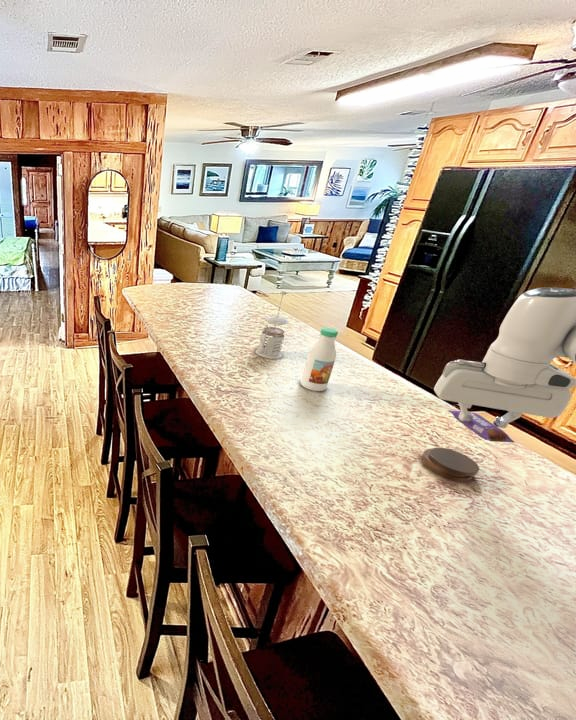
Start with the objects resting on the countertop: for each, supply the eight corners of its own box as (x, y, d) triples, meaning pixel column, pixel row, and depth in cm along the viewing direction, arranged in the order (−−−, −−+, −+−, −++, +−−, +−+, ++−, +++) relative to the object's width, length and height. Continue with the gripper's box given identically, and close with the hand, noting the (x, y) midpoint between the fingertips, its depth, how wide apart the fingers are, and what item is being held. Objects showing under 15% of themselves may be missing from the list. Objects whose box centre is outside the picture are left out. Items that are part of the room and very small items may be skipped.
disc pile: (462, 461, 95) (467, 451, 94) (480, 487, 87) (486, 477, 86) (415, 451, 98) (420, 441, 97) (429, 475, 90) (434, 465, 89)
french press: (287, 355, 149) (304, 292, 138) (269, 362, 143) (285, 297, 132) (265, 346, 157) (279, 286, 146) (247, 352, 151) (260, 290, 140)
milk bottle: (296, 385, 128) (312, 329, 119) (304, 377, 133) (320, 323, 124) (322, 394, 123) (340, 336, 114) (328, 385, 128) (347, 329, 119)
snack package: (449, 406, 89) (471, 407, 89) (445, 413, 90) (467, 414, 90) (492, 437, 79) (518, 438, 79) (488, 445, 80) (513, 446, 80)
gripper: (455, 364, 79) (429, 420, 85) (589, 383, 72) (550, 442, 78) (443, 352, 84) (419, 405, 90) (567, 369, 78) (532, 425, 84)
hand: (481, 423), depth 84 cm, fingers closed on snack package, 5 cm apart
